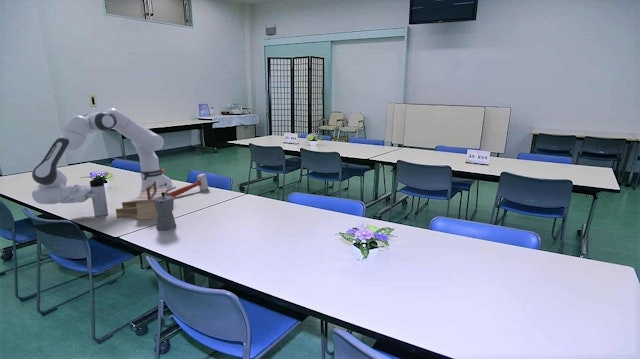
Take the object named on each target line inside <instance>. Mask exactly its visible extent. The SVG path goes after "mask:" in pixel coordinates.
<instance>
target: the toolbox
mask: <svg viewBox="0 0 640 359" xmlns="http://www.w3.org/2000/svg"><path fill="white" fill-rule="evenodd" d="M152 186H154V189H151V188H152ZM168 191H169V190H168V188H159V189H157V188H156V180H153V181H152V182H151V184H150V185H149V186H148V188H147V189H144V190H143V191H142V192H141V191H140V192H141V193H140V194H139V195H138V196H137V197H136V198H135V200H134V201H122V202H121V205H122V208H116V209H115V214H116V219H126V218H137V220H138V221H139V220H152V219H157V215H158V213H157V211H156V208H155V204H154V200H153V199H154V198H156V197H158V196H162V194H161V193H162V192H165V193H167V194H168V193H169V192H168Z"/></svg>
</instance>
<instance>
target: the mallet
mask: <svg viewBox="0 0 640 359" xmlns="http://www.w3.org/2000/svg"><path fill="white" fill-rule="evenodd" d="M196 178H197V181H196V182H195V183H191V184H189V185H185V186H183V187H181V188H179V189H178V188H177V189H176V190H173V191H170V192H167V193H168V196H173V197H174V198H175V197H178V196H179V195H180V196H181V195H182V194H185V193H186V192H189V191H190V190H191V189H193V188H196V187H198V188H199V190H200V191H206V190H208V189H209V185H208V179H207V176H206V174H205V173H200V174H198V175H197V176H196Z"/></svg>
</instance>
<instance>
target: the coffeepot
mask: <svg viewBox="0 0 640 359" xmlns="http://www.w3.org/2000/svg"><path fill="white" fill-rule="evenodd" d="M167 193H168V192H167ZM167 193H165V192H162V193H161V194H162V196H158V197H156V198H154V199H153V200H154V204H155V208H156V211H157V213H158V215H157V218H156V225H155V228H156V230H158V231H165V232H166V231H170V230H173V229H175V228H176V227H177V224H176V219H175V217H174V216H175V215H174V214H173V211H174V200H175V197H173V196H168V194H167Z"/></svg>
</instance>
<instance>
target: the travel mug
mask: <svg viewBox="0 0 640 359" xmlns="http://www.w3.org/2000/svg"><path fill="white" fill-rule="evenodd" d="M89 185H90V187H91V194H94V193H98V195H99V196H98V197H93V198H91V201H92V206H93V213H94V218H105V217H107V216H109V211H108V204H107V203H108V202H107V196H106V188H105V183H104V178H102V177H99V178H94V179H92V180H90V181H89Z"/></svg>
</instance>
